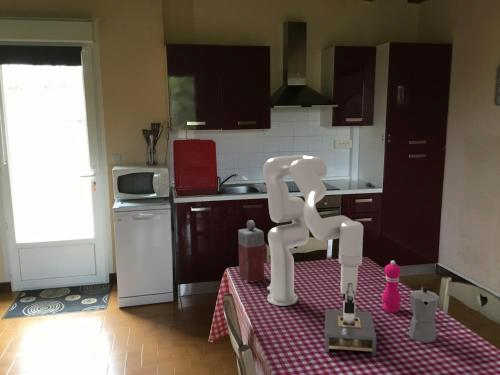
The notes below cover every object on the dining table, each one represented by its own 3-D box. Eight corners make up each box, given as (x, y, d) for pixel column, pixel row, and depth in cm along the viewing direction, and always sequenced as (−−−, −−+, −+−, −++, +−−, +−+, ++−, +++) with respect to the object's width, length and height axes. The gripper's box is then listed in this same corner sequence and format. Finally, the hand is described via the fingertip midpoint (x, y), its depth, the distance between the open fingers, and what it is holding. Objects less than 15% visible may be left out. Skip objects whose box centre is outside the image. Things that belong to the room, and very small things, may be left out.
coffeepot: (439, 347, 146) (442, 296, 143) (408, 343, 149) (411, 293, 146) (434, 326, 161) (437, 278, 158) (407, 322, 164) (409, 276, 161)
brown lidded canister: (268, 278, 208) (268, 220, 203) (247, 283, 203) (246, 224, 199) (259, 272, 216) (259, 216, 211) (239, 276, 211) (237, 219, 206)
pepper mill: (401, 314, 171) (404, 264, 167) (382, 312, 172) (384, 263, 169) (399, 305, 178) (401, 257, 174) (380, 304, 179) (382, 257, 176)
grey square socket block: (325, 326, 162) (325, 308, 161) (370, 328, 160) (370, 311, 159) (325, 352, 145) (325, 333, 144) (375, 356, 142) (376, 336, 141)
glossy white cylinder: (339, 339, 153) (340, 301, 150) (348, 335, 155) (348, 297, 153) (349, 344, 149) (349, 305, 147) (357, 340, 152) (358, 302, 149)
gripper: (337, 249, 156) (336, 294, 160) (339, 267, 140) (337, 317, 143) (359, 250, 155) (357, 296, 158) (364, 268, 138) (361, 319, 142)
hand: (348, 306), depth 151 cm, fingers open, 9 cm apart
